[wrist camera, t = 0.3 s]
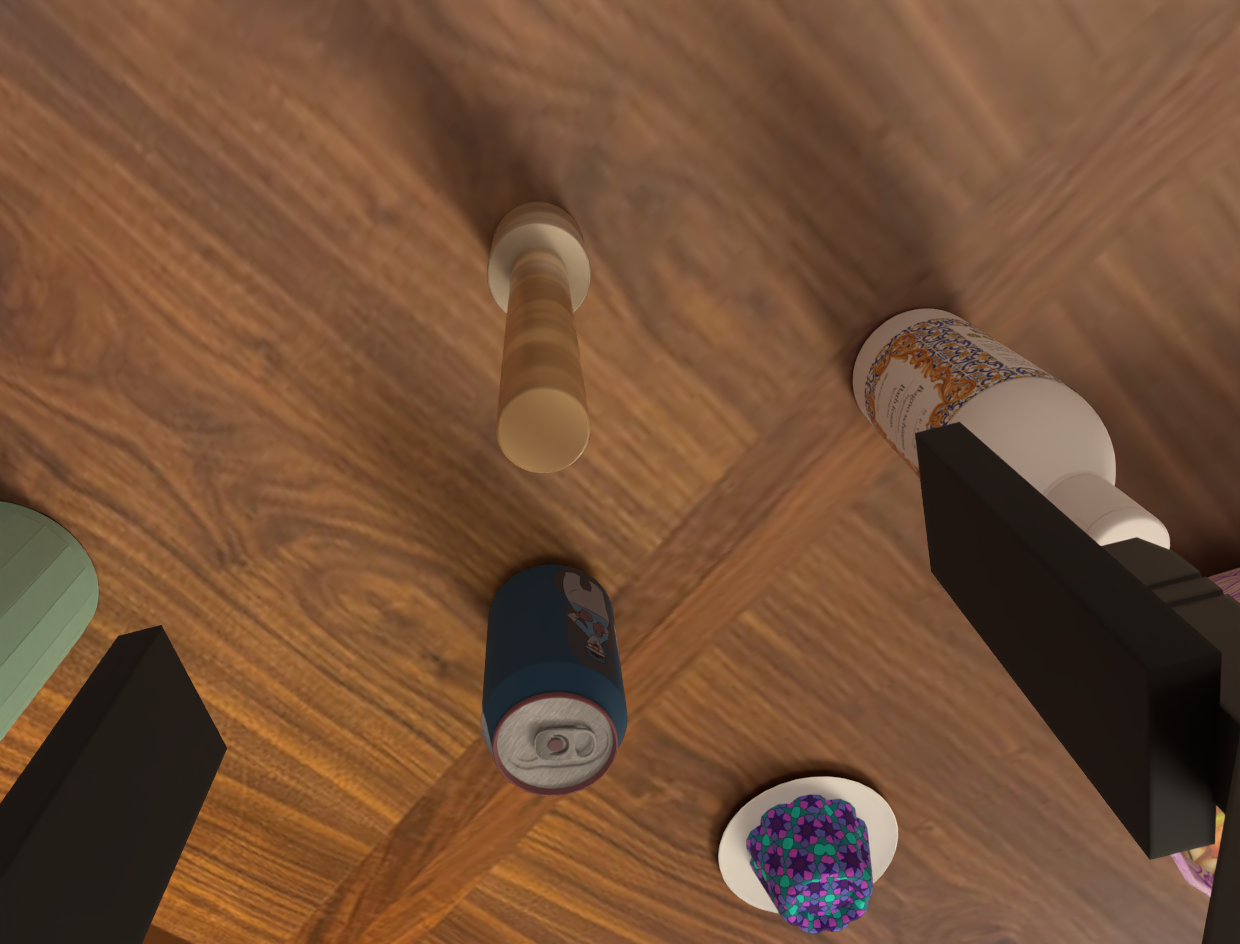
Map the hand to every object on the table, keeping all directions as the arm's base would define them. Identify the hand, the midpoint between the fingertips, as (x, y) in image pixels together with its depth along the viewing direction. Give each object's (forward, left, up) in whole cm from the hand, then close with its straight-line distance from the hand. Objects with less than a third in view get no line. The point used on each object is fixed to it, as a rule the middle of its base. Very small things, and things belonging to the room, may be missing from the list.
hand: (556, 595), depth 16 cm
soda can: (+17, +11, -33) cm, 39 cm away
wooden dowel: (0, 0, -32) cm, 33 cm away
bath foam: (-5, +20, -33) cm, 39 cm away
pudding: (+24, +35, -33) cm, 54 cm away
